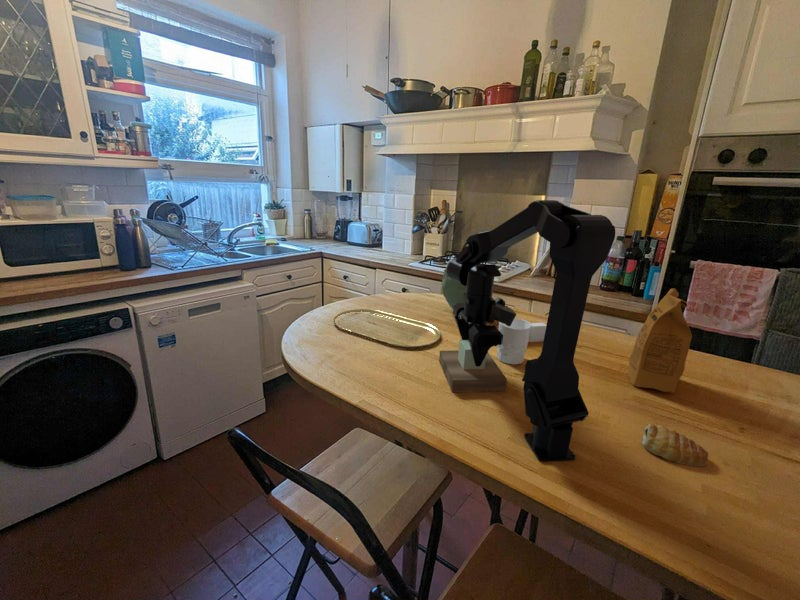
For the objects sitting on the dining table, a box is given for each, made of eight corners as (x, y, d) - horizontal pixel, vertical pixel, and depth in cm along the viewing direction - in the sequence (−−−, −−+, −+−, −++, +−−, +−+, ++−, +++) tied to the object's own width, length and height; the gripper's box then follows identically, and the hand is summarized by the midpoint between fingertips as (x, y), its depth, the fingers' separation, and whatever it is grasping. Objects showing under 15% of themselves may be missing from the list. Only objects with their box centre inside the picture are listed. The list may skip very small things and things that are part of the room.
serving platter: (420, 358, 96) (420, 352, 95) (320, 326, 113) (320, 321, 113) (450, 334, 111) (451, 329, 111) (358, 309, 129) (358, 305, 128)
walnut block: (505, 391, 82) (506, 379, 81) (451, 392, 80) (452, 380, 79) (485, 360, 95) (486, 350, 94) (439, 361, 94) (439, 350, 93)
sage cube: (484, 369, 84) (487, 349, 83) (463, 369, 84) (465, 349, 82) (478, 358, 89) (480, 339, 88) (457, 359, 89) (459, 340, 87)
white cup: (527, 367, 92) (533, 330, 89) (495, 363, 94) (499, 327, 90) (524, 353, 99) (529, 319, 96) (493, 350, 101) (498, 316, 98)
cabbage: (498, 312, 130) (505, 256, 123) (468, 326, 117) (474, 263, 110) (461, 301, 140) (466, 248, 133) (429, 312, 127) (433, 255, 120)
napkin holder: (496, 343, 106) (498, 325, 104) (503, 330, 116) (506, 312, 114) (551, 355, 100) (555, 336, 98) (555, 340, 110) (558, 322, 108)
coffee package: (672, 375, 91) (698, 290, 84) (678, 399, 81) (708, 305, 74) (626, 364, 96) (647, 282, 89) (625, 386, 86) (650, 295, 79)
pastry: (703, 452, 65) (710, 435, 64) (707, 477, 60) (714, 458, 59) (641, 432, 70) (646, 415, 69) (640, 452, 65) (645, 434, 64)
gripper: (532, 306, 73) (521, 376, 78) (499, 280, 91) (492, 339, 96) (478, 306, 72) (470, 377, 77) (455, 280, 89) (449, 339, 94)
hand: (472, 356), depth 86 cm, fingers open, 9 cm apart
